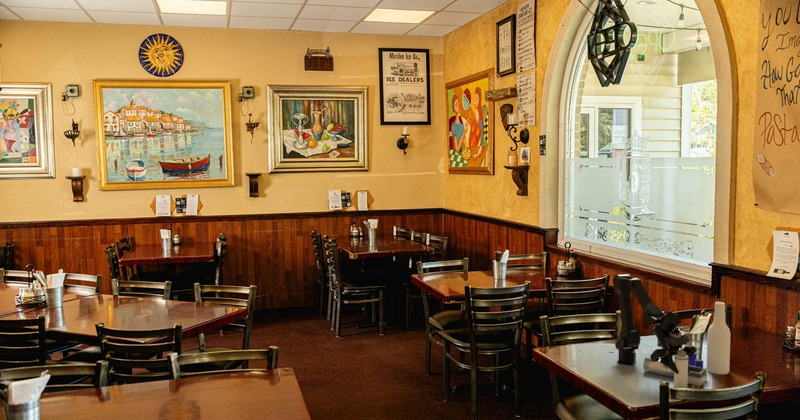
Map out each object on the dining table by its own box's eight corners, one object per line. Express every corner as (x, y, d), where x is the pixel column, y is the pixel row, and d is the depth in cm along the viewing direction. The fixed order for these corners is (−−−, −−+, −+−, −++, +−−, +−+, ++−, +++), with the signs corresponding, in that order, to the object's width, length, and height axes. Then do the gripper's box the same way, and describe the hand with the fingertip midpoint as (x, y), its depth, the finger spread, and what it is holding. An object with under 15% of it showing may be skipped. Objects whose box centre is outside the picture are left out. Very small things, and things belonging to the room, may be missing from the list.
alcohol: (727, 376, 278) (730, 305, 275) (705, 372, 282) (707, 303, 280) (730, 370, 285) (732, 301, 283) (707, 367, 290) (710, 299, 287)
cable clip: (684, 365, 292) (684, 352, 292) (694, 366, 291) (695, 353, 291) (691, 374, 280) (691, 360, 280) (702, 375, 280) (703, 361, 279)
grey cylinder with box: (641, 373, 281) (642, 357, 280) (649, 368, 288) (649, 352, 287) (700, 385, 266) (701, 368, 265) (706, 380, 273) (707, 363, 272)
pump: (671, 388, 263) (672, 352, 262) (675, 384, 267) (676, 349, 266) (685, 390, 260) (686, 354, 259) (689, 387, 264) (690, 351, 263)
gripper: (655, 329, 263) (674, 365, 253) (694, 326, 268) (713, 360, 259) (642, 343, 271) (659, 378, 261) (680, 340, 276) (698, 374, 267)
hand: (683, 372), depth 262 cm, fingers closed on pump, 5 cm apart
